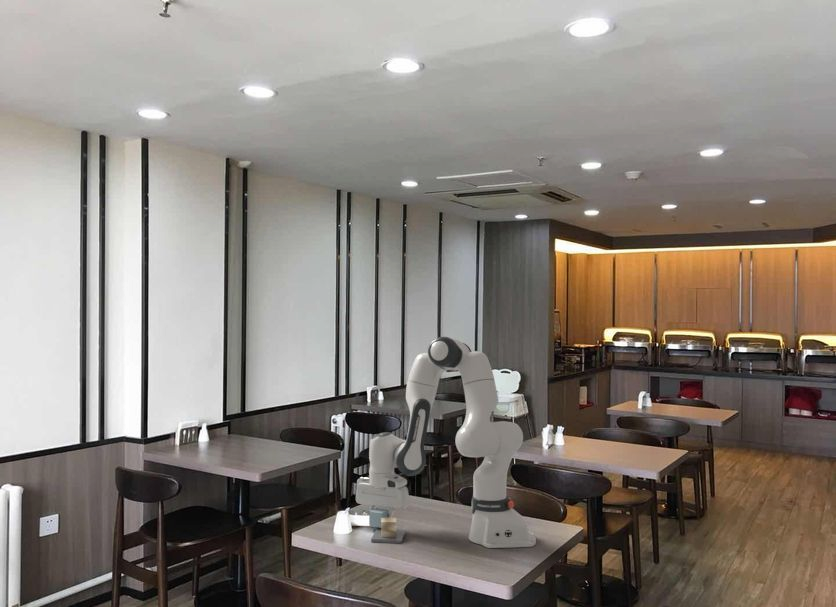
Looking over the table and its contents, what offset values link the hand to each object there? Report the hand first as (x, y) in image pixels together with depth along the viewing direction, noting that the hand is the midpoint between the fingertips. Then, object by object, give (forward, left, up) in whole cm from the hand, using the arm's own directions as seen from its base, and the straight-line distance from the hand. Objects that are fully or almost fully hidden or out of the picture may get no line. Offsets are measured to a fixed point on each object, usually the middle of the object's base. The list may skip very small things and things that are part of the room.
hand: (382, 518), depth 238 cm
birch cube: (-4, +10, -2) cm, 11 cm away
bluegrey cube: (+1, +2, -2) cm, 3 cm away
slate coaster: (-4, +10, -3) cm, 11 cm away
